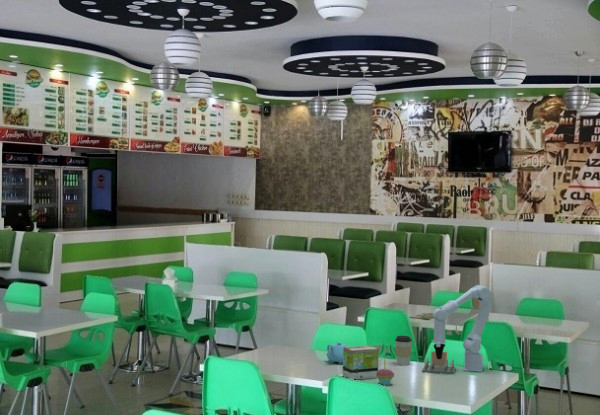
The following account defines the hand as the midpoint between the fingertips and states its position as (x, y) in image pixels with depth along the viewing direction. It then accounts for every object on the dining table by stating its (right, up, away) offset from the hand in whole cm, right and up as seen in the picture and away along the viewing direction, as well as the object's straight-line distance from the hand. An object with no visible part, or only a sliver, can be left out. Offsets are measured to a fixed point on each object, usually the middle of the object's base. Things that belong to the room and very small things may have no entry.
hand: (439, 358), depth 402 cm
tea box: (-42, -6, -18) cm, 46 cm away
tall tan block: (0, -4, 0) cm, 4 cm away
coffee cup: (-16, -6, +16) cm, 24 cm away
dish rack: (0, -6, 0) cm, 6 cm away
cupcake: (-31, -6, -32) cm, 45 cm away
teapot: (-51, -6, +17) cm, 54 cm away
